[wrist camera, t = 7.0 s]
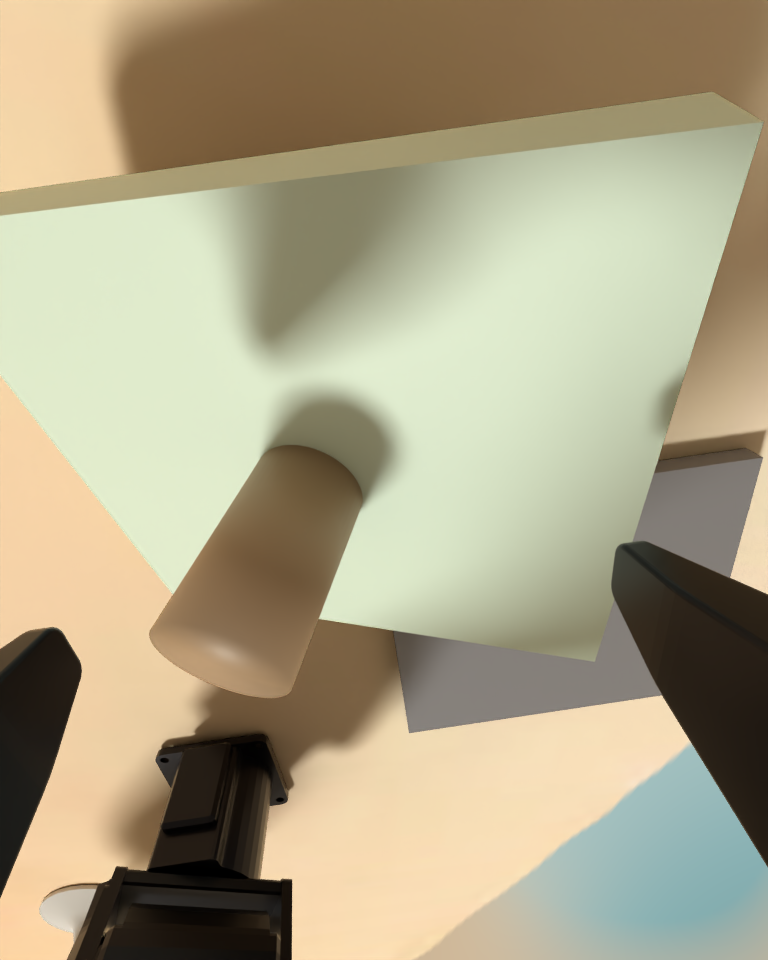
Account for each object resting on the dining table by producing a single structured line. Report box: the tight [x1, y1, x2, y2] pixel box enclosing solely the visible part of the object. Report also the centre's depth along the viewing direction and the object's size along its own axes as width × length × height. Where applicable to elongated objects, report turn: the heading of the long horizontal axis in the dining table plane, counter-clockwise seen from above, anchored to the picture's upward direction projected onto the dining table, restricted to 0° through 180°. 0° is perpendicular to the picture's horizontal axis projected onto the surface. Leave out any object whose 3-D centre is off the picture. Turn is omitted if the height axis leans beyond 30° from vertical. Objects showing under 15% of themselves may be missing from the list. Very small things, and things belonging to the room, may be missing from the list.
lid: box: [0, 92, 764, 698], centre depth 12 cm, size 14×16×8 cm
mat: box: [393, 448, 763, 733], centre depth 25 cm, size 15×17×1 cm
